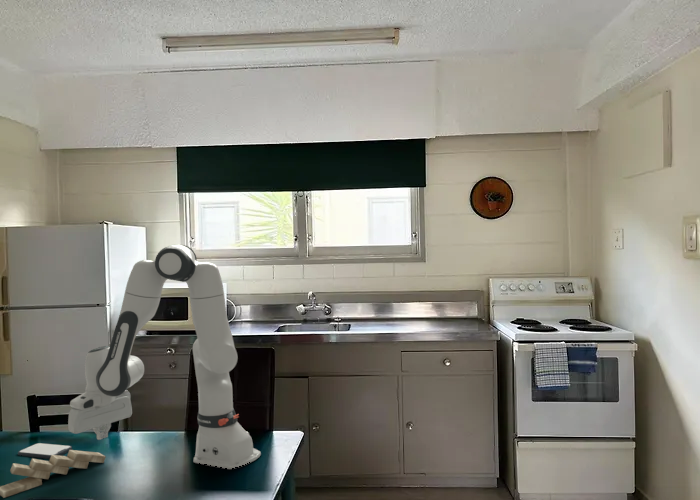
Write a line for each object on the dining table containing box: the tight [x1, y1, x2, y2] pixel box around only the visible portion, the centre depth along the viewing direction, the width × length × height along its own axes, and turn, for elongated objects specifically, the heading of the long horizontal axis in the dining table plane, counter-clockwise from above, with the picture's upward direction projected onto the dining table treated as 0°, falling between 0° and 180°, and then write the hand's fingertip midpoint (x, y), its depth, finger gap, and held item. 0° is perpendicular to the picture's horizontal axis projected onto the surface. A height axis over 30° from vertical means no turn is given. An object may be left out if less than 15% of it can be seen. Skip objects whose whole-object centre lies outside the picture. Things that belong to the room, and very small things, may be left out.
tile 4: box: [9, 462, 52, 480], centre depth 161 cm, size 2×5×10 cm
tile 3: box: [28, 458, 70, 475], centre depth 164 cm, size 2×5×10 cm
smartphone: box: [17, 442, 73, 460], centre depth 184 cm, size 9×2×16 cm
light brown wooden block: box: [48, 455, 90, 469], centre depth 168 cm, size 2×5×10 cm
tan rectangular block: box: [67, 449, 107, 464], centre depth 172 cm, size 2×5×10 cm
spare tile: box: [0, 476, 43, 499], centre depth 157 cm, size 2×5×10 cm
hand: (102, 438), depth 176 cm, fingers closed
